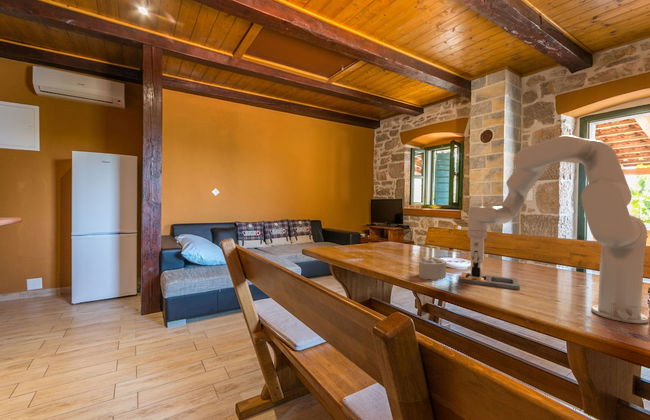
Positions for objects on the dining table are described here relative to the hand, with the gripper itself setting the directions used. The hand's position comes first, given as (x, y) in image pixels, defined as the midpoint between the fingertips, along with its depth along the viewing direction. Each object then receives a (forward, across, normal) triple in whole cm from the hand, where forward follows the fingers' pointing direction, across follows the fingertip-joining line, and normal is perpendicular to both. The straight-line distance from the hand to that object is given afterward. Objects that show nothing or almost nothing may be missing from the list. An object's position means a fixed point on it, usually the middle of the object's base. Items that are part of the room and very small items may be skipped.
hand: (476, 274), depth 132 cm
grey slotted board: (+3, 0, -5) cm, 6 cm away
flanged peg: (+2, 0, 0) cm, 2 cm away
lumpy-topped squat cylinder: (+3, -4, +18) cm, 19 cm away
